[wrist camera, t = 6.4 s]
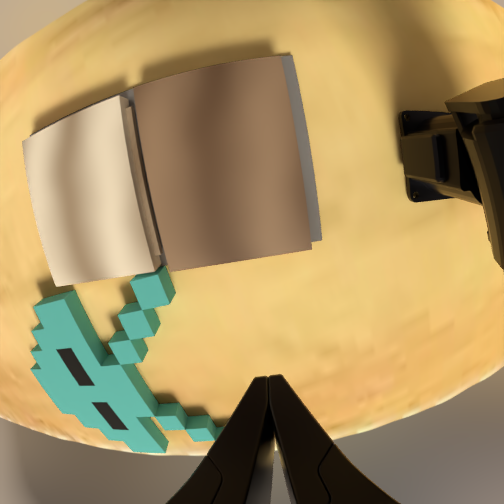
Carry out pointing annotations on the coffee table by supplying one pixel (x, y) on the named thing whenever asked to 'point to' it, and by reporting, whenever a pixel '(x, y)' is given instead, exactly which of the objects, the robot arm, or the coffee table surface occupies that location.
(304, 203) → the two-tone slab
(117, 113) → the beige rectangular slab
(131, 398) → the alien figure
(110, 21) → the coffee table surface
